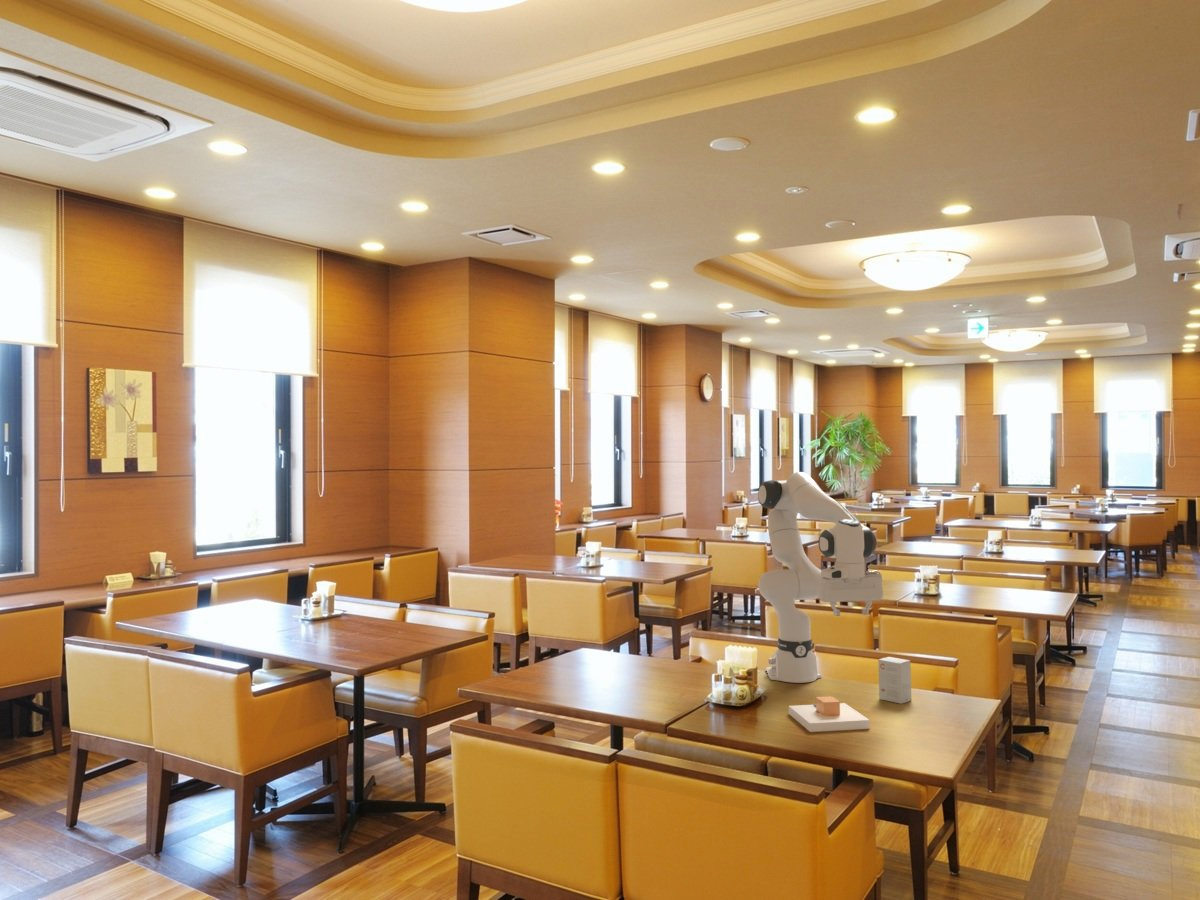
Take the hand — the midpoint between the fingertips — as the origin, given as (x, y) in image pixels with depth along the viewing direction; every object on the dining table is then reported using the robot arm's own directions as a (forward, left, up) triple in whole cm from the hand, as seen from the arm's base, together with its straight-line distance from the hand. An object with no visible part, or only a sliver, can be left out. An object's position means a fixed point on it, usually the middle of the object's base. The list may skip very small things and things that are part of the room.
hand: (851, 615), depth 272 cm
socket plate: (+12, -13, -29) cm, 34 cm away
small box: (-6, +17, -29) cm, 34 cm away
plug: (+12, -13, -29) cm, 34 cm away
